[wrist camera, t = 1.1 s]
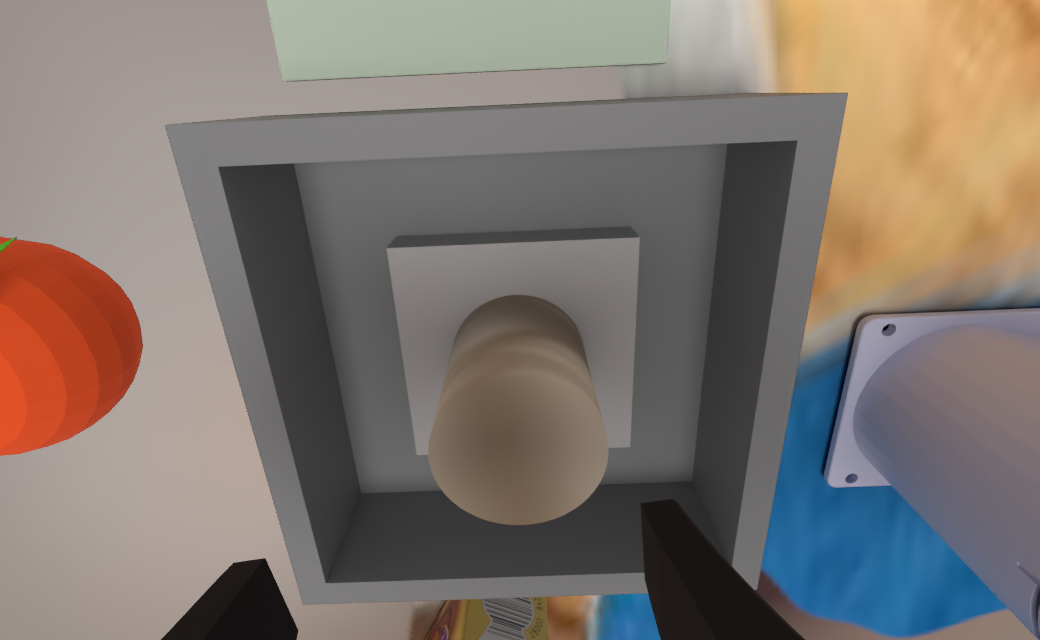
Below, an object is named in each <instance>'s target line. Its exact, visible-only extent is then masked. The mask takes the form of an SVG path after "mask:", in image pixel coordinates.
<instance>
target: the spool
mask: <svg viewBox="0 0 1040 640" xmlns="http://www.w3.org/2000/svg"><path fill="white" fill-rule="evenodd" d="M608 454H609V450H608V440H607V436H606V431H605V427H604V424H603V420H602V416H601V412H600V408H599V404H598V400H597V396H596V393H595V389H594V385H593V381H592V377H591V373H590V369H589V365H588V362H587V358H586V354H585V350H584V346H583V342H582V338H581V336H580V333H579V330H578V329H577V327H576V325H575V323H574V322H573V321H572V319H571V318H570V317H569V316H568V315H567V314H566V313H565V312H564V311H563V310H562V309H560V308H559V307H558V306H556V305H554V304H552V303H551V302H549V301H546V300H544V299H541V298H538V297H534V296H528V295H509V296H503V297H499V298H496V299H493V300H490V301H488V302H486V303H484V304H482V305H481V306H479V307H478V308H477V309H475V310H474V311H473V312H472V313H471V314H470V315H469V316H468V317H467V318H466V319H465V320H464V322H463V323H462V325H461V326H460V328H459V330H458V332H457V335H456V338H455V342H454V345H453V349H452V353H451V357H450V361H449V365H448V369H447V373H446V376H445V380H444V384H443V388H442V392H441V396H440V400H439V404H438V407H437V411H436V415H435V419H434V423H433V427H432V431H431V435H430V438H429V446H428V457H429V463H430V468H431V471H432V474H433V476H434V479H435V480H436V482H437V484H438V486H439V487H440V488H441V490H442V491H443V492H444V494H445V495H446V496H447V497H448V498H449V499H450V500H451V501H452V502H453V503H455V504H456V505H457V506H459V507H460V508H461V509H463V510H465V511H466V512H468V513H470V514H472V515H474V516H476V517H478V518H481V519H484V520H487V521H490V522H495V523H499V524H507V525H530V524H537V523H542V522H546V521H549V520H553V519H556V518H558V517H560V516H563V515H565V514H567V513H569V512H570V511H572V510H574V509H575V508H577V507H578V506H579V505H581V504H582V503H583V502H584V501H585V500H586V499H588V498H589V497H590V495H591V494H592V493H593V492H594V491H595V489H596V488H597V486H598V485H599V483H600V482H601V480H602V478H603V475H604V473H605V470H606V466H607V463H608Z"/></svg>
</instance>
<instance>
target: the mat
mask: <svg viewBox="0 0 1040 640" xmlns="http://www.w3.org/2000/svg"><path fill="white" fill-rule="evenodd" d="M266 1H267V6H268V11H269V16H270V21H271V26H272V31H273V36H274V41H275V46H276V51H277V56H278V61H279V66H280V71H281V76H282V81H308V80H331V79H352V78H372V77H393V76H415V75H435V74H453V73H455V74H457V73H477V72H498V71H519V70H539V69H561V68H582V67H603V66H624V65H645V64H663V63H667V47H668V30H669V13H670V0H266Z"/></svg>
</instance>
